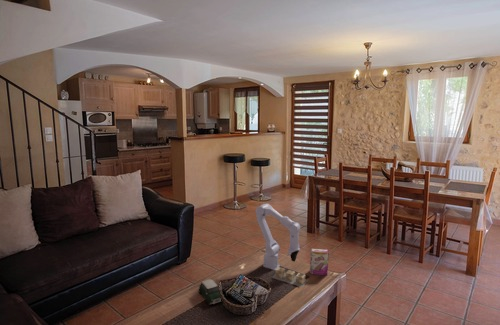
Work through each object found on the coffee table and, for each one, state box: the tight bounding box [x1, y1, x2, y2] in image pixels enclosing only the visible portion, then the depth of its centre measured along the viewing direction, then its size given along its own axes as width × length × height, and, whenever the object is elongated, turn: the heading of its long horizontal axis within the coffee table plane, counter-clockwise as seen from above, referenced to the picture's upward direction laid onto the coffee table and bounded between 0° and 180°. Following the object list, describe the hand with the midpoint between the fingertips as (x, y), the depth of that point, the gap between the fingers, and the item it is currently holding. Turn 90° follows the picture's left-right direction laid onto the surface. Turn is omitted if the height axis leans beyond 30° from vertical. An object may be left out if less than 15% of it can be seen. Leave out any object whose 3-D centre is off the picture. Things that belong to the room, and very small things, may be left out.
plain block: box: [285, 269, 296, 281], centre depth 198 cm, size 4×4×4 cm
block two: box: [295, 272, 306, 285], centre depth 195 cm, size 4×4×5 cm
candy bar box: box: [309, 248, 330, 276], centre depth 205 cm, size 11×5×16 cm, turn 84°
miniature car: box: [198, 278, 222, 306], centre depth 178 cm, size 9×18×8 cm, turn 32°
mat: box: [271, 272, 309, 288], centre depth 199 cm, size 21×10×1 cm, turn 59°
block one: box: [275, 266, 286, 278], centre depth 202 cm, size 4×4×5 cm
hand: (293, 260), depth 205 cm, fingers closed
